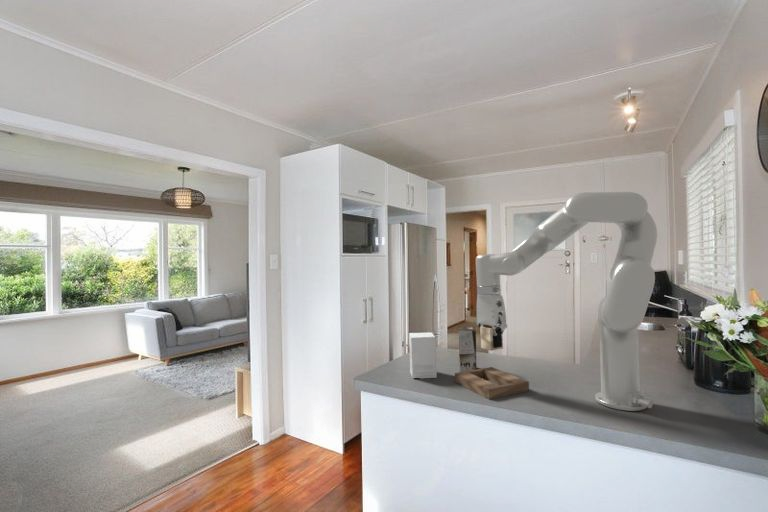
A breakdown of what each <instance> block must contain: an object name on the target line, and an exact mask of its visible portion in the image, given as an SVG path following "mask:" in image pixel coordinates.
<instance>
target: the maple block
mask: <svg viewBox="0 0 768 512" xmlns="http://www.w3.org/2000/svg"><path fill="white" fill-rule="evenodd" d="M479 329H480V330H479V331H480V347H481V349H485V350H487V351H492V352H493V351H498V350H502V349H504V343H503V340H504V339H503V336H502V347H498V348H494V347H493V335H494V333H493V329H492V326H484V327H480V328H479ZM497 329H498V327H496V330H497Z"/></svg>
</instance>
